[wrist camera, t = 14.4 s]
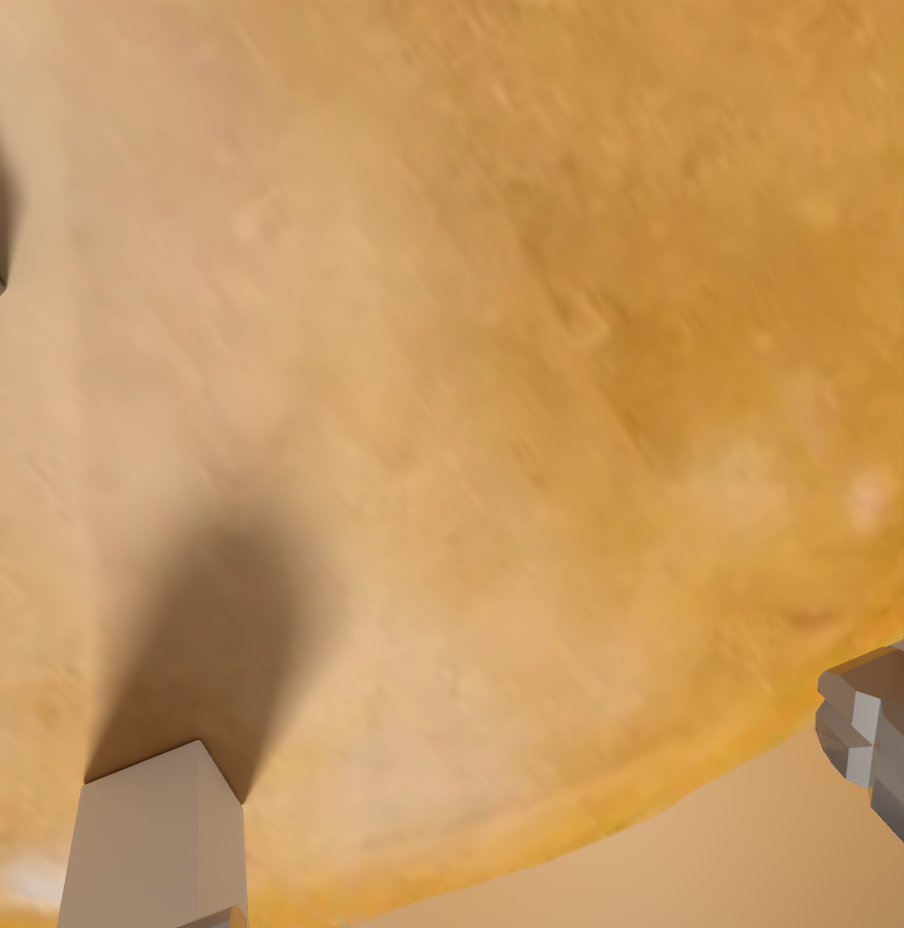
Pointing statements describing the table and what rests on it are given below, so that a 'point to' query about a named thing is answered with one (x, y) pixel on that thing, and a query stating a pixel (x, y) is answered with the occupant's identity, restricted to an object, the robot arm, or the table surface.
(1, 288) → the post block
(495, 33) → the table surface
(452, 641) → the table surface
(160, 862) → the milk carton
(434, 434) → the table surface
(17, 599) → the table surface
